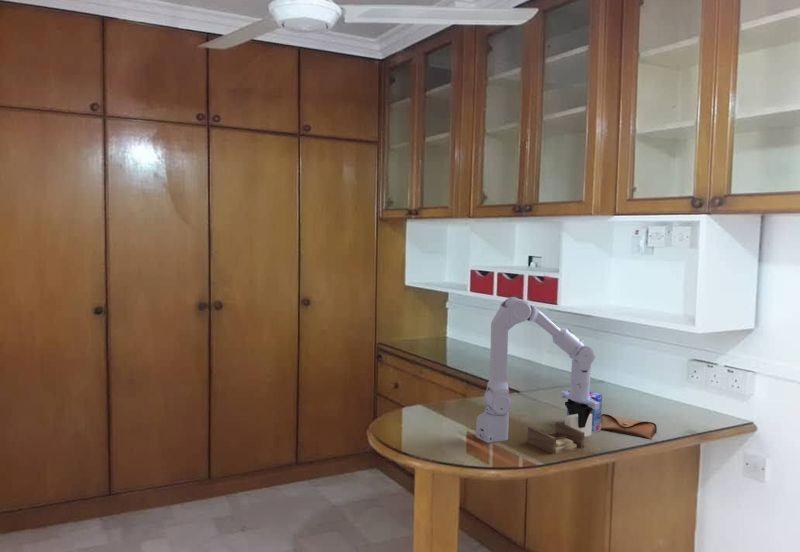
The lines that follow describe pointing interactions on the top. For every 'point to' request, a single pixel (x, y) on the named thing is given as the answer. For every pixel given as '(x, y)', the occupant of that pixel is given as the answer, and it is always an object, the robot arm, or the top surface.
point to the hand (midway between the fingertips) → (578, 425)
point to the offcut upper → (563, 442)
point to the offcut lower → (566, 447)
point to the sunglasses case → (628, 426)
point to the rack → (555, 438)
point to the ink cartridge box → (595, 412)
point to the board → (573, 422)
